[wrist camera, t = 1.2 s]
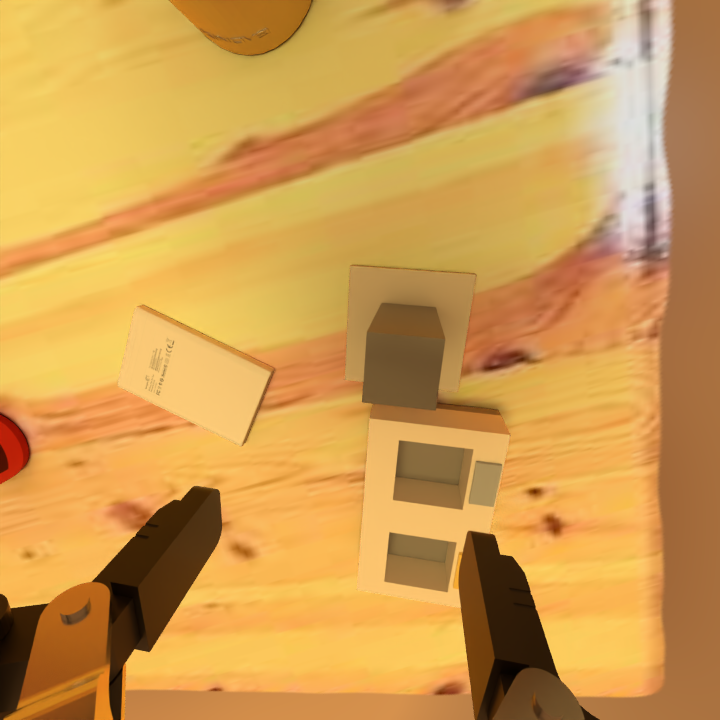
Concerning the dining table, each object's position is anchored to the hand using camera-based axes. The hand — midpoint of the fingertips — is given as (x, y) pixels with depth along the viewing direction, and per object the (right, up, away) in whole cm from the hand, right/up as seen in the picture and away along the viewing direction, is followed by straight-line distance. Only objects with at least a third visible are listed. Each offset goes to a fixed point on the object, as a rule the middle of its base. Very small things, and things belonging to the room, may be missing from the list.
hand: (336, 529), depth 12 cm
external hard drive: (-14, +4, +22) cm, 26 cm away
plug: (+4, +8, +16) cm, 18 cm away
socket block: (+6, -6, +21) cm, 23 cm away
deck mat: (+4, +8, +17) cm, 19 cm away
